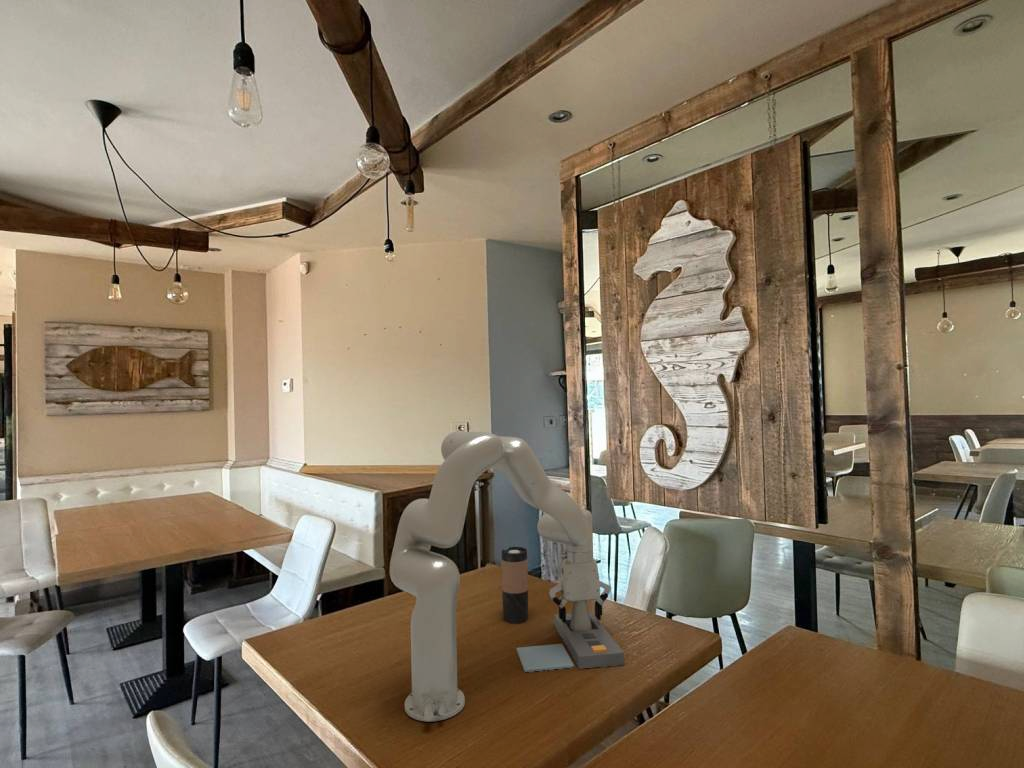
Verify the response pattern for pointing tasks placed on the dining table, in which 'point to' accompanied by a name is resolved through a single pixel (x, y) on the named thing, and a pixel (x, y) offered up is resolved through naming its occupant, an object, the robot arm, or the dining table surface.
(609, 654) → the power strip
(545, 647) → the rubber mat
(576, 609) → the salt shaker
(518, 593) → the travel mug
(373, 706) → the dining table surface
